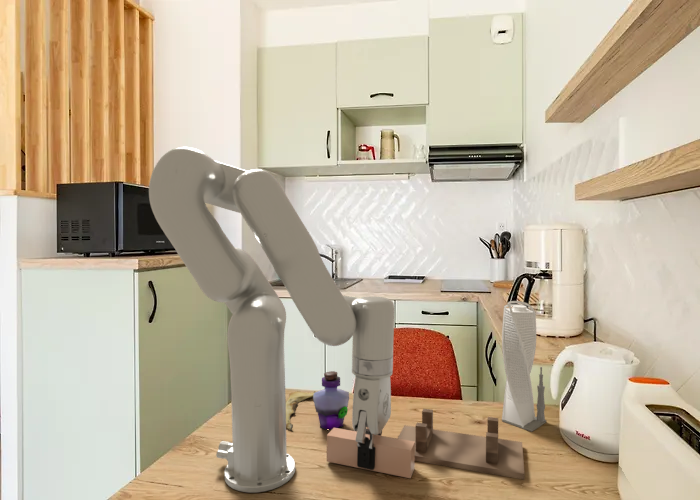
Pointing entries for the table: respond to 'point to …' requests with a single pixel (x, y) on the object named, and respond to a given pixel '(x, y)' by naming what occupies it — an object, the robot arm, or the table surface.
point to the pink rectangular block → (388, 452)
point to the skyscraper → (520, 368)
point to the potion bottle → (331, 402)
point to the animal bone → (294, 405)
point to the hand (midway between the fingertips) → (369, 460)
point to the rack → (465, 448)
